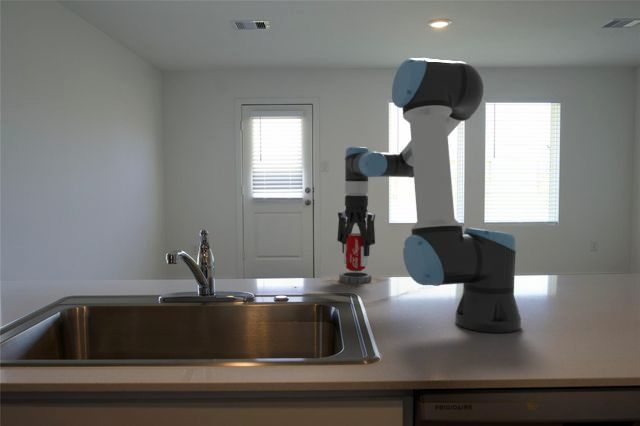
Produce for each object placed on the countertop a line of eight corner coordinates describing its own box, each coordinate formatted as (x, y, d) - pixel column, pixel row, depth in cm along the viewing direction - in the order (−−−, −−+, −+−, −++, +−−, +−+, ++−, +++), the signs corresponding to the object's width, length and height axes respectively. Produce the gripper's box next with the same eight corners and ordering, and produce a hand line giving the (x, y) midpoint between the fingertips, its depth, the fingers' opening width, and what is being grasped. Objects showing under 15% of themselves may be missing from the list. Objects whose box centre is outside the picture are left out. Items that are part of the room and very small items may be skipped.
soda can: (342, 269, 174) (343, 233, 173) (359, 268, 177) (359, 232, 176) (351, 272, 168) (352, 235, 167) (368, 271, 171) (369, 234, 170)
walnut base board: (356, 292, 161) (356, 287, 161) (321, 286, 170) (321, 281, 170) (388, 283, 175) (388, 279, 175) (354, 278, 184) (354, 274, 184)
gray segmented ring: (358, 285, 165) (358, 278, 165) (333, 280, 172) (333, 274, 172) (377, 280, 173) (377, 274, 173) (352, 276, 180) (352, 270, 180)
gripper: (387, 195, 167) (386, 266, 169) (340, 193, 180) (339, 260, 181) (374, 195, 162) (373, 269, 163) (326, 194, 174) (325, 262, 176)
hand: (355, 264), depth 172 cm, fingers closed on soda can, 6 cm apart
